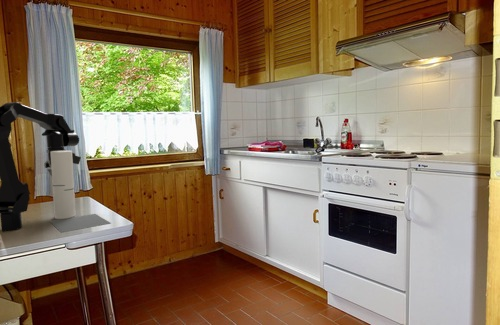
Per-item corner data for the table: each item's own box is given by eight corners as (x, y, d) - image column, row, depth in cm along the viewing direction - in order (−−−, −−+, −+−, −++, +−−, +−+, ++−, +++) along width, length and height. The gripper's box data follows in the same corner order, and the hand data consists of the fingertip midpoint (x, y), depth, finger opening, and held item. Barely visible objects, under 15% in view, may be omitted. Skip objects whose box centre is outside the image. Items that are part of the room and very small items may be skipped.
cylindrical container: (56, 215, 137) (52, 150, 134) (76, 213, 140) (73, 150, 137) (53, 220, 130) (48, 152, 127) (74, 218, 133) (70, 151, 130)
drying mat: (111, 224, 122) (111, 223, 122) (61, 233, 112) (61, 232, 112) (94, 214, 137) (94, 213, 137) (49, 222, 128) (49, 221, 128)
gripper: (84, 146, 136) (87, 186, 138) (72, 146, 151) (75, 182, 152) (51, 148, 130) (54, 190, 131) (42, 147, 144) (45, 185, 145)
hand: (58, 186), depth 140 cm, fingers closed
